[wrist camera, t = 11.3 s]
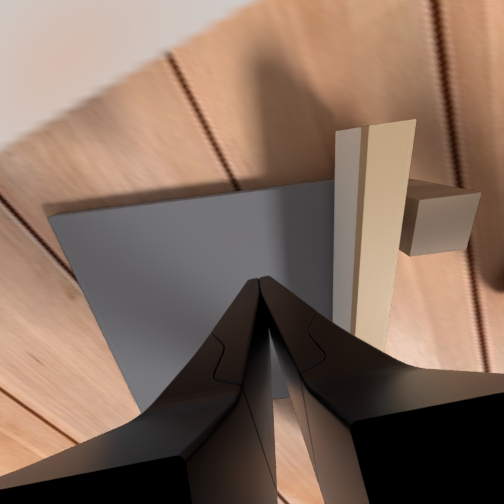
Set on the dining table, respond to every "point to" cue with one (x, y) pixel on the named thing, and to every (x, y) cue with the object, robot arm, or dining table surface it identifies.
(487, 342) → the dining table surface
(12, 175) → the dining table surface
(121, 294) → the mat
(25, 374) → the dining table surface
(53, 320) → the dining table surface
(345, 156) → the panel
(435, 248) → the stop block
